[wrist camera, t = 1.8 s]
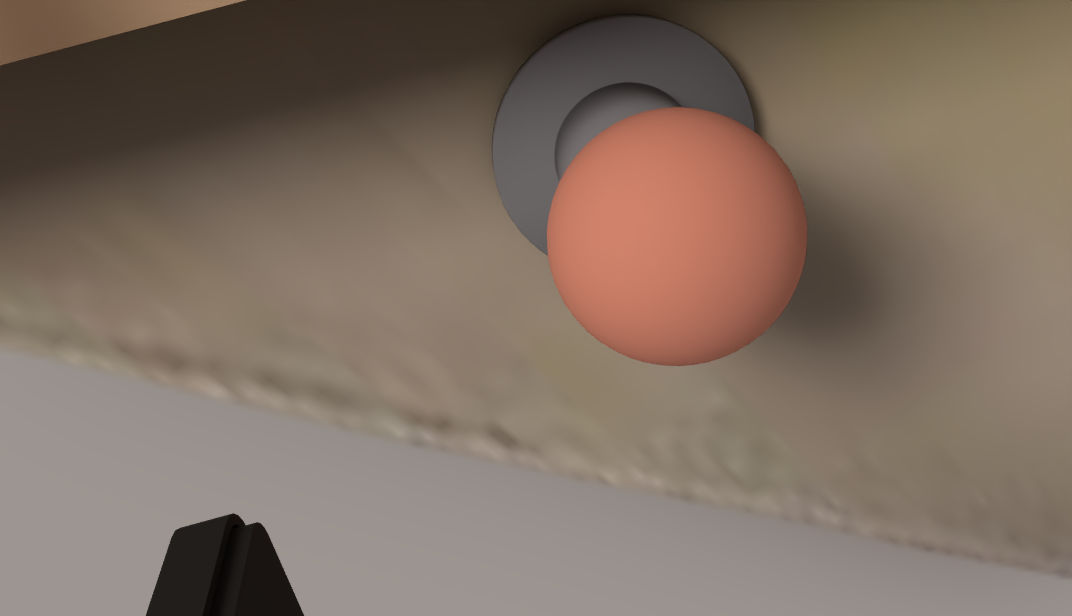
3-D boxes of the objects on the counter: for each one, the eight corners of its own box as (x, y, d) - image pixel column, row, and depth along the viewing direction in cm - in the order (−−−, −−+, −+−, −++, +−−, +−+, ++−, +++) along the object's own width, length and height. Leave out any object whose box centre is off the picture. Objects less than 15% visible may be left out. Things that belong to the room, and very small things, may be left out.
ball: (745, 53, 17) (830, 115, 13) (777, 269, 19) (860, 375, 15) (510, 115, 17) (532, 192, 13) (564, 325, 19) (595, 443, 15)
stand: (728, -17, 19) (776, 8, 17) (766, 232, 22) (813, 290, 19) (461, 53, 19) (466, 89, 17) (527, 294, 22) (539, 360, 19)
